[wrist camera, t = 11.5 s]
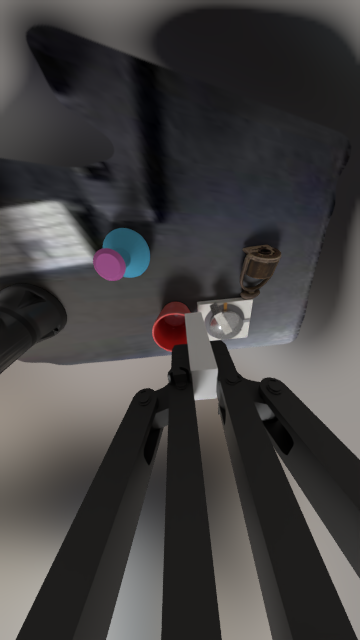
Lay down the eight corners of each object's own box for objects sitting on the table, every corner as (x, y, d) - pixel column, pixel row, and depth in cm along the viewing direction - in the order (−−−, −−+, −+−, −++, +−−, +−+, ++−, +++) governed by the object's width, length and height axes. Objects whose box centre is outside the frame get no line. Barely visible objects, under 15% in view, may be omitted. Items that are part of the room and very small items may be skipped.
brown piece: (303, 253, 32) (268, 237, 28) (270, 310, 37) (236, 302, 33) (276, 249, 38) (243, 235, 34) (251, 299, 43) (220, 291, 39)
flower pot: (186, 289, 41) (189, 305, 32) (200, 322, 46) (205, 344, 38) (149, 304, 43) (143, 323, 34) (166, 334, 48) (165, 357, 40)
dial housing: (198, 337, 49) (199, 342, 47) (196, 301, 43) (198, 305, 41) (244, 333, 48) (247, 338, 46) (249, 296, 42) (253, 300, 40)
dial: (244, 326, 44) (255, 342, 38) (217, 339, 46) (223, 357, 40) (226, 291, 39) (235, 304, 33) (196, 308, 41) (200, 323, 35)
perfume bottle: (104, 231, 34) (60, 236, 21) (146, 223, 33) (128, 223, 20) (119, 274, 38) (92, 300, 26) (157, 268, 38) (147, 290, 25)
